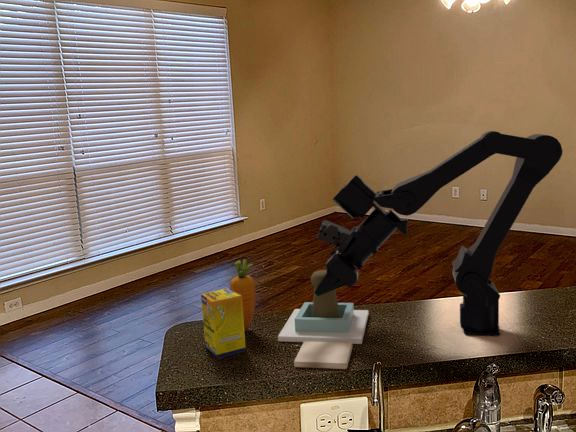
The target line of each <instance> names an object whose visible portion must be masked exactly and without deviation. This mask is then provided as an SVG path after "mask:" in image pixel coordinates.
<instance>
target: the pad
mask: <svg viewBox="0 0 576 432" xmlns="http://www.w3.org/2000/svg"><path fill="white" fill-rule="evenodd" d="M352 350H353V344H352V343H344V342H312V341H304V342H302V345H301V347H300V349H299V351H298V353H297V355H296V356H295V359H294V361H293V364H294V365H293V367H294V368H312V369H334V370H335V369H337V370H347V369H348V366H349V363H350V359H351V355H352Z"/></svg>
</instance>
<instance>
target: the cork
mask: <svg viewBox="0 0 576 432" xmlns="http://www.w3.org/2000/svg"><path fill="white" fill-rule="evenodd" d="M326 273H327V269H321V270H320V269H319V270H316V271H314V272H313V273H312V275H311V276H310V277H311V278H310V281H311V282H310V283H311V285H312V286H313V288H314V289H313V298H312V299H313V312H312V317H314V318H340V313H339V307H338V303H339V302H338V297H337V293H336V289H335V290H332V291H330V292H327V293H324V294H322V295H319V296H317V295H316V294H315V293H314V291H315V290H316V288H317V287H318V285H319V284H320V282H321V281H322V279H323V277H324V276H325V274H326Z"/></svg>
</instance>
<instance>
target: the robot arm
mask: <svg viewBox="0 0 576 432" xmlns="http://www.w3.org/2000/svg"><path fill="white" fill-rule="evenodd" d="M563 151H564V150H563V147H562V144H561V142H560V141H559V140H558V138H556V137H554V136H551V135H548V134H541V133H533V134H531V135H528V136H527V137H523V136H517V135H511V134H505V133H501V132H499V131H495V130H488V131H485V132H484V133H483V134H482V135H480V136H479V138H476V140H473V142H471V143H469V144H468V145H466V146H465V147H463V148H462V149H460V150H458V151H457V152H456V153H454V154H453V155H451V156H450V157H448V158H446V159H445V160H443V161H441V162H440V163H439V164H437V165H436V166H434V167H432V168H431V169H430V170H427V171H426V172H423V173H421V174H417V175H415V176H413V177H410V178H407V179H406V180H405V179H404V180H403V181H401V182H398V183H396V185H394V186H393V187H392V188H390V189H384V190H380V191H379V190H378V191H374V190H373V188H371V187H370V186H369V185H368V184H366V183H365V182H364V180H363V179H362V178H361V177H360V176H359V175H358V174H355V175H354V176H353V177H352V178H351V179H350V180H349V181H348V182H347V184H344V185H343V187H342V188H341V189H339V191H338V192H337V193H336V194H335V195H334V197H333V198H332V199H331V200H332V202H334V204H336V205H337V206H339V208H341V209H342V210H343V211H344V212H345V213H346V214H347V215H348V216H350V217H351V218H352V219H355V218H357V219H362V218H364V217H365V216H366V215H367V214H368V213H369V211H370V210H371V209H372V208H374V209H373V210H372V211H371V212H370V214H368V216H366V218H364V220H363V221H362V222H361V223H359V225H357V226H354V227H353V228H352V229H351V230H350V229H347V228H345V227H344V226H341V225H339V224H336V223H334V222H332V221H329V220H326V219H324V220H323V221H321V222H322V223H321V224H320V227H319V230H318V233H317V235H316V239H317V240H319V241H322V242H326V243H329V244H330V245H333V247H334V248H335V249H333V248H332V249H331V252H330V255H331V256H330V257H329V258H328V259H326V263H325V265H324V266H325V267H326V270H327V273H326V274H325V276H324V277H323V279H322V281H321V282H320V284H319V285H318V287H317V288H316V290H315V291H314V290H313V294H314V293H315V294H316V295H317V296H319V295H322V294H324V293H327V292H330V291H332V290H335V291H336V290H338V289H339V288H340V289H341V288H343V287H345V286H346V287H347V288H349V289H351V288H352V287H353V286H354V285H355V284H356V283H357V282H358V280H359V270H361V269H362V268H363V267H364V264H365V263H366V261H368V259H369V258H370V257H371V256H373V255H376V253H378V251H379V248H380V247H381V246H382V245H383V244H385V242H386V241H387V240H388V239H389V238H390V236H392V235H393V234H394V233H395V232H396V230H399V231H400V232H401V233H402V234H403V235H404V236H405V235H407V234H408V227H407V226H408V222H409V219H408V218H407V217H408V216H411V215H413V214H415V213H417V211H419V210H420V209H421V208H422V207H424V205H426V203H428V202H429V201H430V199H432V197H434V196H435V195H436V193H437V192H438V191H439V190H440V189H442V188H444V187H445V186H446V185H448V184H450V183H451V182H453V181H454V180H457V179H458V178H459V177H460V176H462V175H464V174H465V173H468V171H470V170H471V169H473V168H474V167H476V166H478V165H480V164H481V163H482V162H484V161H485V160H487V159H489V158H490V157H492V156H493V155H495V154H498V155H503V156H509V157H514V158H515V163H514V167H513V171H512V175H511V178H510V179H509V182H508V183H507V185H506V187H505V188H504V190H503V193H502V194H501V196H500V198H499V199H498V201H497V203H496V205H495V207H494V209H493V210H492V212H491V213H490V216H488V219H487V221H486V223H485V224H484V227H483V228H482V230H481V232H480V234H479V235H478V237H477V238H476V241H475V242H474V243H473V244H472V245H470V247H469V248H466V247H465V246H464V245H461V247H459V251H458V254H457V256H456V258H455V259H454V260H452V262H451V264H452V276H453V279H454V282H455V286H456V288H457V289H458V291H459V292H461V294H463V295H462V302H460V304H459V325H460V328H461V329H462V330H463V334H465V335H474V336H475V335H481V336H482V335H483V336H500V335H501V331H500V327H499V319H500V313H499V308H500V305H499V304H500V301H499V300H500V298H501V294H500V293H499V291H498V289H497V287H496V286H495V284H494V282H493V281H492V280H491V279H490V278H491V276H492V273H493V270H494V264H495V259H496V255H497V253H498V252H499V249H500V248H501V246H502V244H503V243H504V241H505V238H507V236H508V234H509V233H510V230H511V228H512V227H513V225H514V224H515V221H516V220H517V218H518V216H519V215H520V213H521V211H522V209H523V207H524V205H525V204H526V202H527V200H528V199H529V197H530V195H531V193H532V192H533V189H534V188H535V187H536V186H537V185H538V184H539V183H541V181H542V180H544V178H546V177H547V176H548V175H549V174H550V173H551V171H552V170H553V169H554V168H555V167H556V165H557V164H558V163H559V162H560V160H561V158H562V155H563ZM385 209H389V210H385ZM397 214H399V215H401V216H406V218H401V217H400V216H398V215H397Z"/></svg>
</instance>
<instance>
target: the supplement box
mask: <svg viewBox="0 0 576 432" xmlns="http://www.w3.org/2000/svg"><path fill="white" fill-rule="evenodd" d="M200 299H201V301H200V302H201V307H202V308H201V309H202V311H201V312H202V321H203V322H202V323H203V334H204V335H203V336H204V346H205V350H208V351H209V353H211V354H212V355H213V356H214V357H215V358H216V359H217V360H218V359H223V358H225V357H228V356H232V355H233V356H234V355H235V354H236V355H238V354H241V353H243V352H244V353H245V352H246V351H247V348H246V335H245V334H246V333H245V330H244V317H243V302H242V296H241V295H239V294H237V293H235V292H234V291H232V290H231V288H229V287H228V288H227V287H226V288H222V289H218V290H214V291H207V292H203V293H201V294H200Z"/></svg>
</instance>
